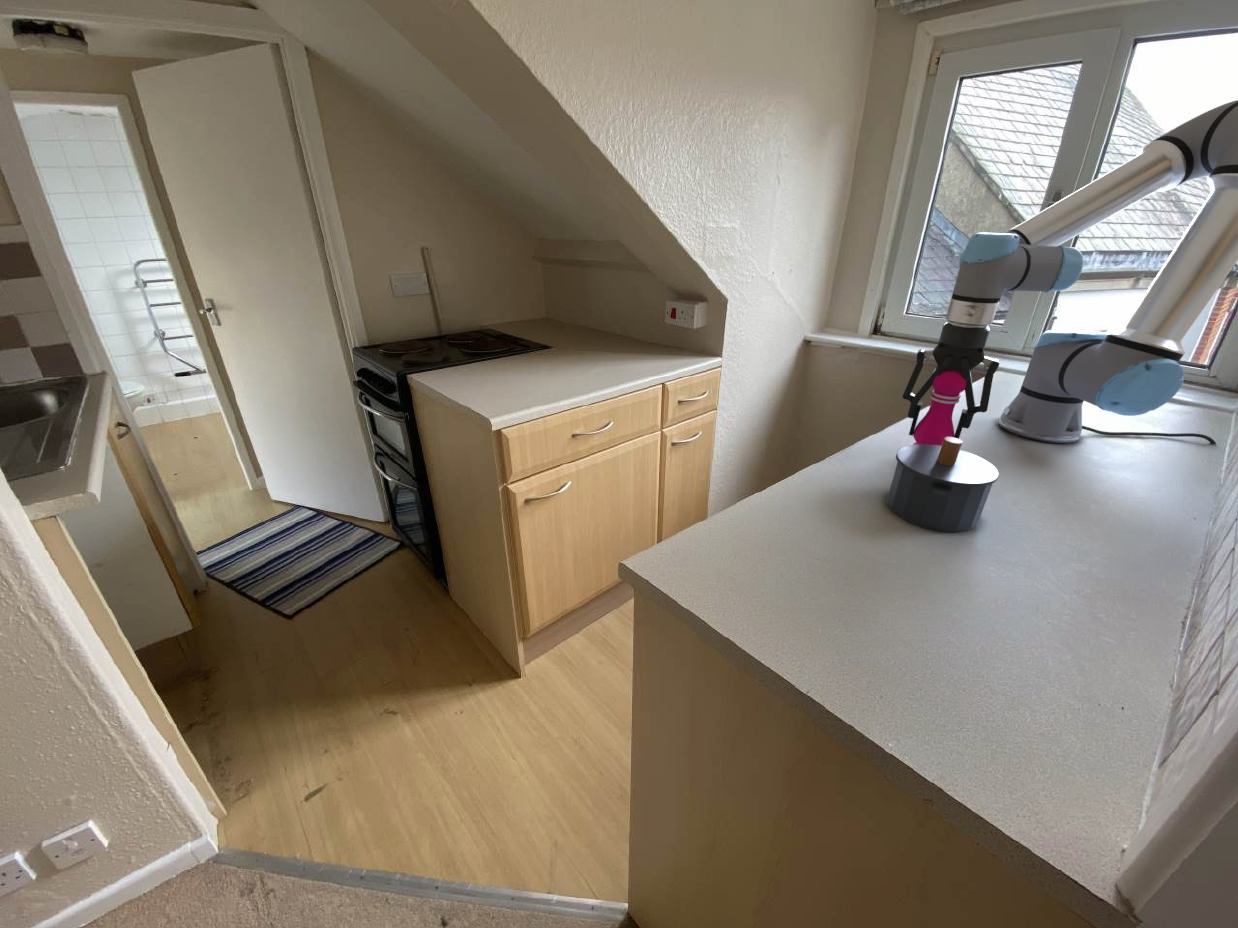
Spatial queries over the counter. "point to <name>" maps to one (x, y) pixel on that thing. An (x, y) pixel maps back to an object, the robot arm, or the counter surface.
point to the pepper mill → (940, 409)
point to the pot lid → (947, 464)
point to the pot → (935, 502)
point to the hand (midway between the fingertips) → (932, 437)
